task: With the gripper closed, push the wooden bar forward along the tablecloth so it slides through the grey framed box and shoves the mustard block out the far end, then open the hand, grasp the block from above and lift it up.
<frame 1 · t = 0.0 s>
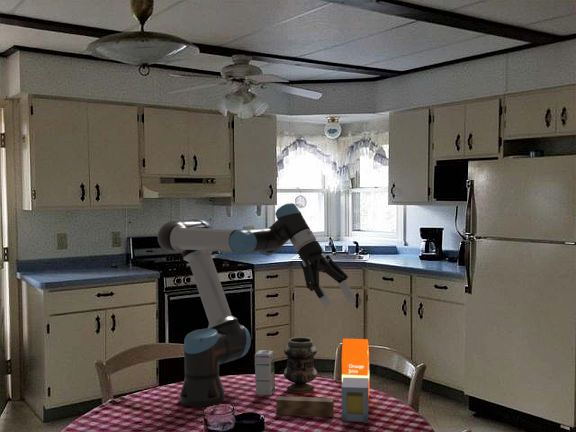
hand: (340, 302, 192), 36 cm above the table, tool tilted 35°, fingers open, 13 cm apart
wooden bar: (305, 414, 197), on the table
brown ornate vase: (300, 389, 222), on the table
orange juice: (356, 397, 213), on the table
block: (355, 415, 194), on the table
syrup box: (265, 393, 218), on the table
grey framed box: (355, 415, 194), on the table
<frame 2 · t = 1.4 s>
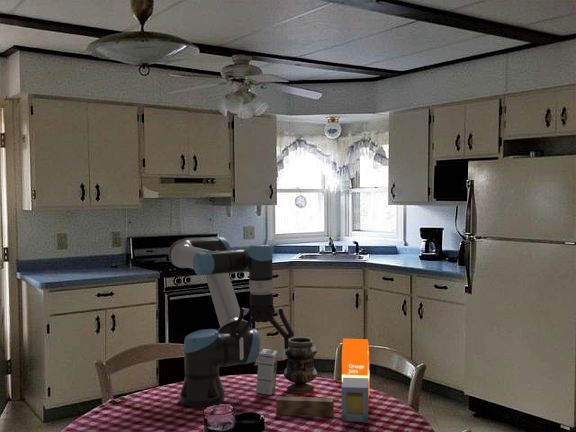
hand: (262, 359, 198), 17 cm above the table, tool pointing down, fingers open, 13 cm apart
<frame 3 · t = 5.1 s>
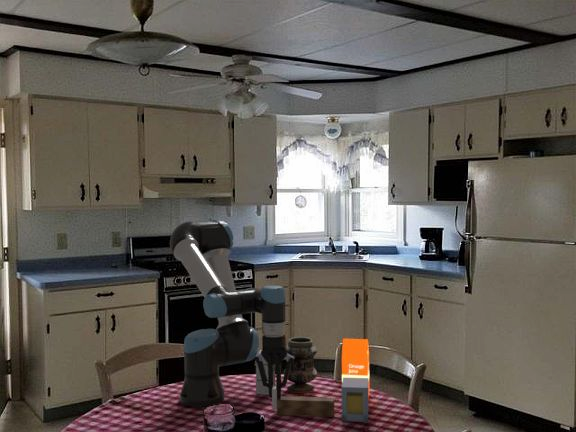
hand: (275, 407, 198), 2 cm above the table, tool pointing down, fingers closed
wooden bar: (305, 414, 197), on the table, touching gripper
syrup box: (265, 392, 218), on the table, touching arm
everything else where it was.
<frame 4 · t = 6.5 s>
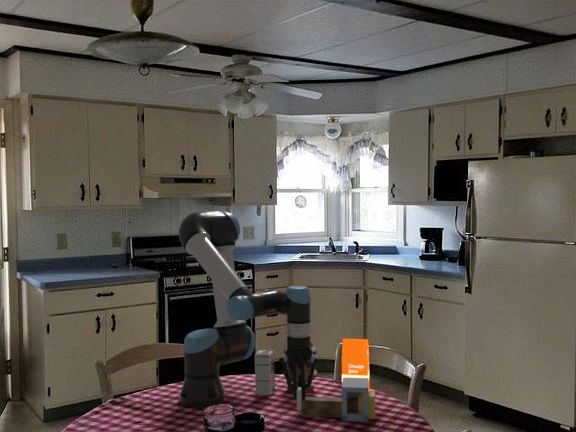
hand: (299, 408, 197), 2 cm above the table, tool pointing down, fingers closed
wooden bar: (330, 414, 195), on the table, touching block, gripper
block: (366, 415, 194), on the table, touching wooden bar
syrup box: (265, 393, 218), on the table
everything else where it was.
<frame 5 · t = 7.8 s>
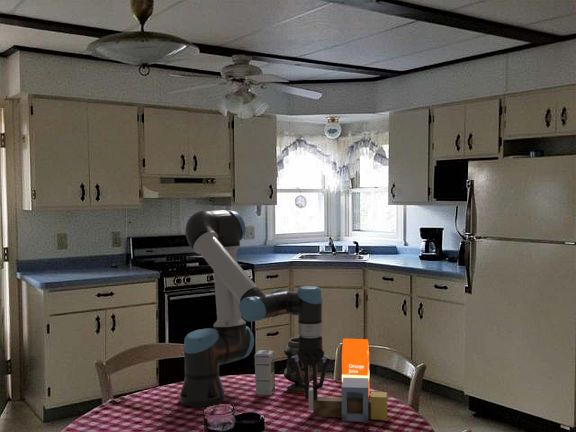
hand: (311, 409, 196), 2 cm above the table, tool pointing down, fingers closed
wooden bar: (342, 415, 195), on the table, touching block, gripper
block: (379, 416, 193), on the table, touching wooden bar
everything else where it was.
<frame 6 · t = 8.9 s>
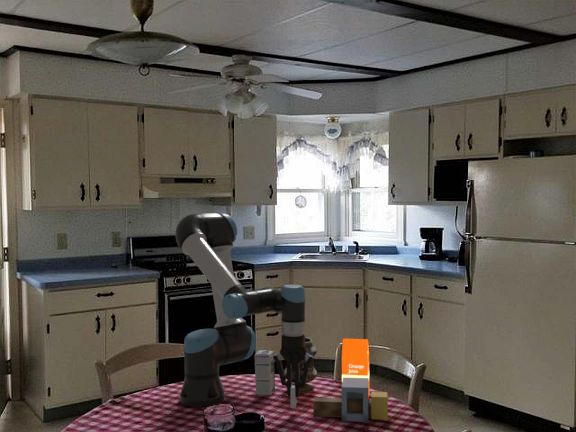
hand: (293, 406, 197), 2 cm above the table, tool pointing down, fingers closed
wooden bar: (342, 415, 195), on the table
block: (379, 416, 193), on the table
everything else where it was.
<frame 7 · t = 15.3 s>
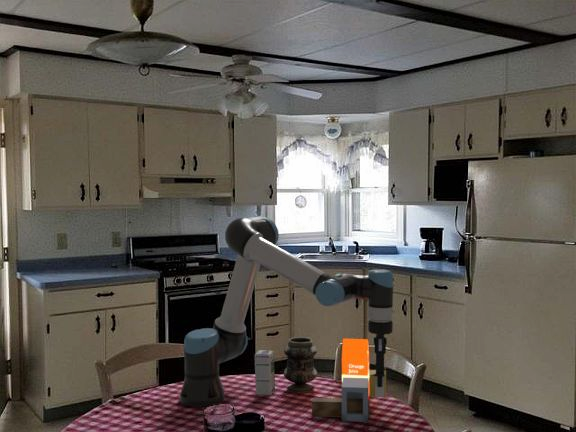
hand: (379, 393, 193), 7 cm above the table, tool pointing down, fingers closed on block, 5 cm apart
block: (377, 394, 193), point 7 cm above the table, touching gripper
everything else where it was.
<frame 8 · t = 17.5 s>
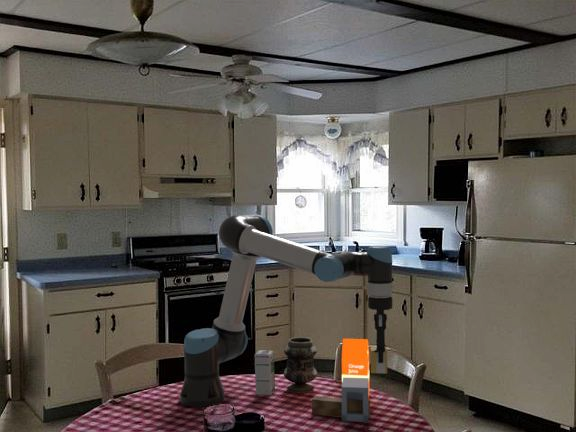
hand: (380, 369, 193), 15 cm above the table, tool pointing down, fingers closed on block, 5 cm apart
block: (378, 371, 193), point 14 cm above the table, touching gripper
at the end: block inside the target area (2.1 cm from its centre), point 14.3 cm above the table; the gripper is holding block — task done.
